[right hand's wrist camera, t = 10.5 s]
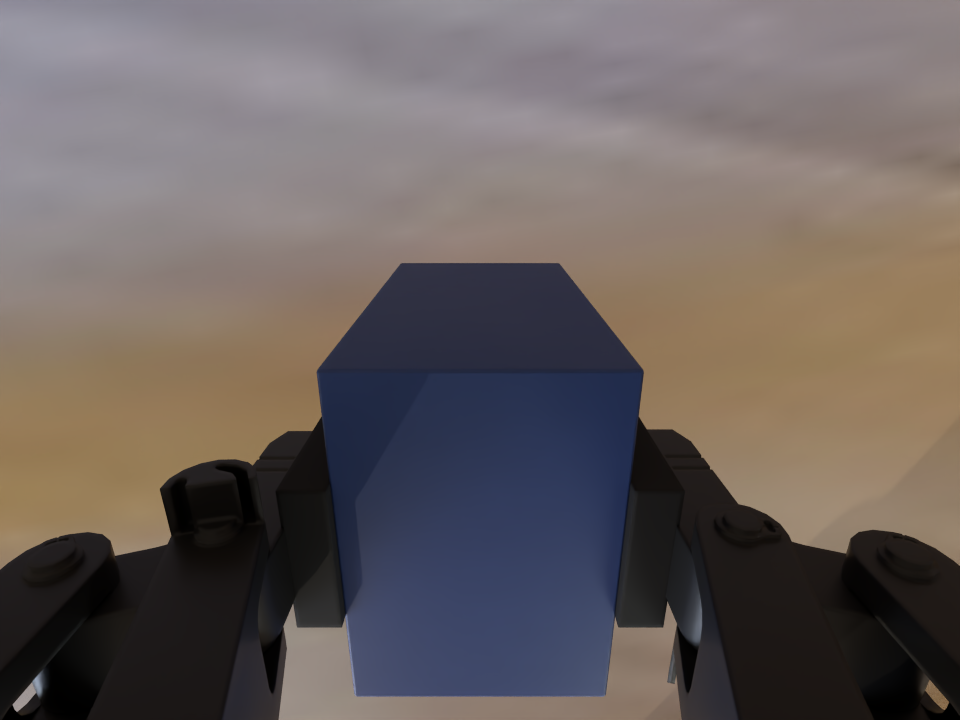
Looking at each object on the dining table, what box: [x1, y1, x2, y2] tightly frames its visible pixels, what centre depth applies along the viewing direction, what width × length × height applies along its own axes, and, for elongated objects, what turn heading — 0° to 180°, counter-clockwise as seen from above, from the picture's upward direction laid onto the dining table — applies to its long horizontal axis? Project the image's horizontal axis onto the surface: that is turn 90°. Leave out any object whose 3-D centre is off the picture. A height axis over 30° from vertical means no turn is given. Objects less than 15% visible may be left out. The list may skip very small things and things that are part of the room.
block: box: [317, 263, 644, 696], centre depth 13 cm, size 6×5×8 cm
